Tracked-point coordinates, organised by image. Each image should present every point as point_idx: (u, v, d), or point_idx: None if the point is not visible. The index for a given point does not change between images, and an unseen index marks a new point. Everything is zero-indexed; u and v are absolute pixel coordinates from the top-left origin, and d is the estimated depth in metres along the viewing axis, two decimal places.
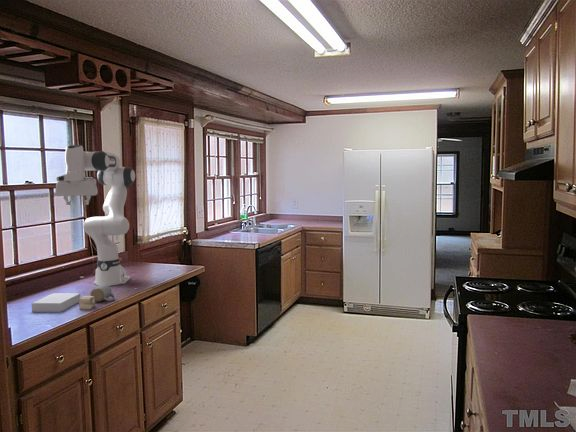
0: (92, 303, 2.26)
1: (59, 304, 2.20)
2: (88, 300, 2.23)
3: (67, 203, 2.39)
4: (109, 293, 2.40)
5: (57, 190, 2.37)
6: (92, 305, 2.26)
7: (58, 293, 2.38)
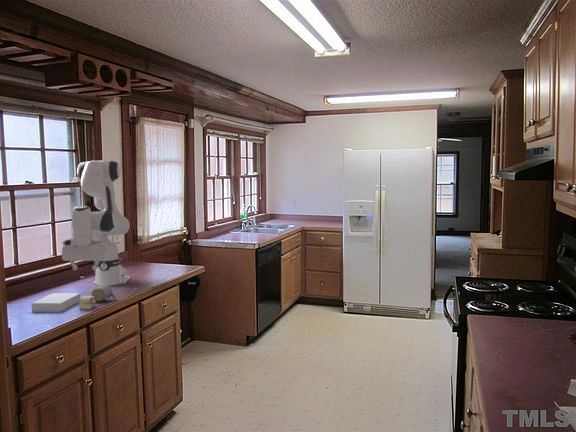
0: (92, 303, 2.26)
1: (59, 304, 2.20)
2: (88, 300, 2.23)
3: (74, 268, 2.24)
4: (110, 293, 2.40)
5: (63, 255, 2.22)
6: (92, 305, 2.26)
7: (58, 293, 2.38)
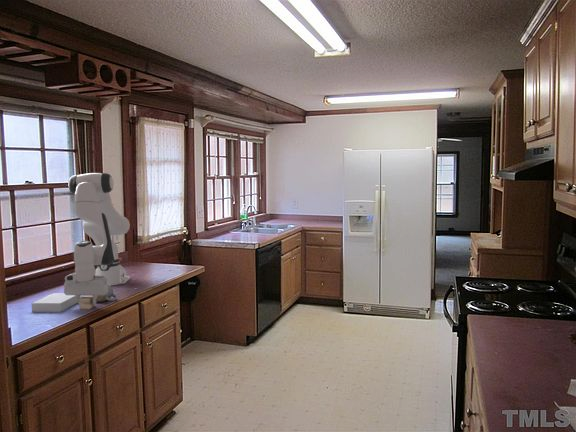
0: None
1: (59, 304, 2.20)
2: (88, 300, 2.23)
3: None
4: (111, 293, 2.40)
5: (65, 289, 2.24)
6: (92, 305, 2.26)
7: (58, 293, 2.38)
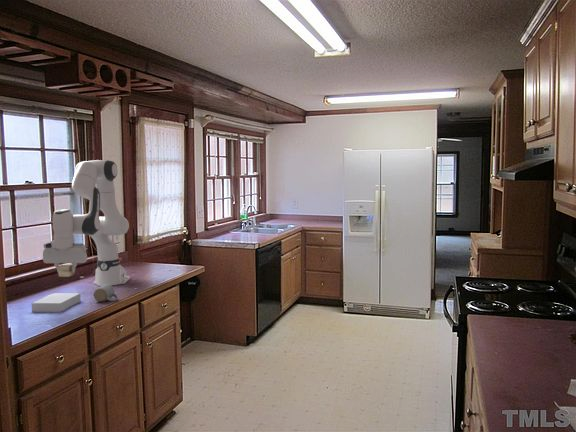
0: None
1: (59, 304, 2.20)
2: (67, 267, 2.24)
3: None
4: (112, 293, 2.40)
5: (44, 257, 2.24)
6: (71, 273, 2.27)
7: (58, 293, 2.38)
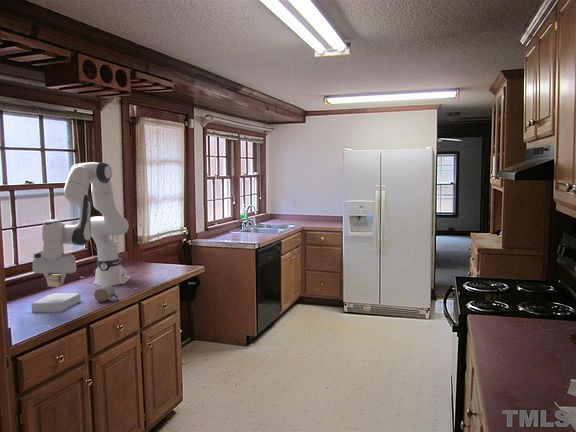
0: None
1: (59, 304, 2.20)
2: (56, 277, 2.25)
3: None
4: (113, 293, 2.40)
5: (34, 267, 2.26)
6: (60, 283, 2.28)
7: (58, 293, 2.38)
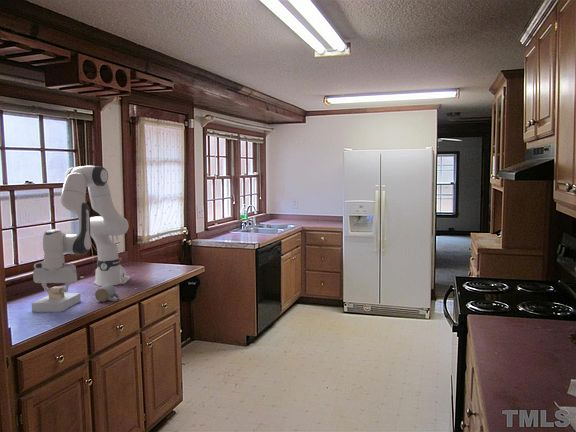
0: (61, 293, 2.29)
1: (59, 304, 2.20)
2: (57, 290, 2.26)
3: (45, 290, 2.28)
4: (113, 293, 2.40)
5: (35, 277, 2.27)
6: (61, 295, 2.29)
7: None
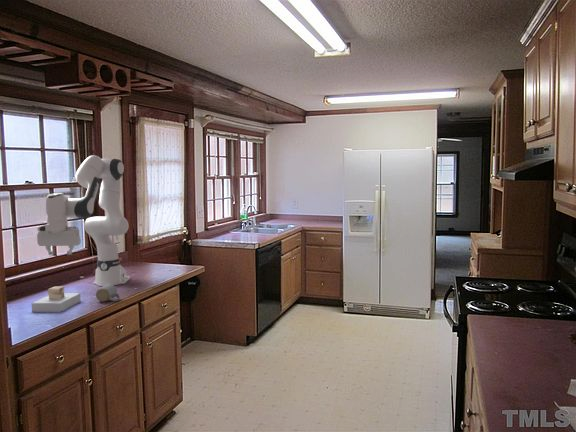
0: (61, 293, 2.29)
1: (59, 304, 2.20)
2: (57, 290, 2.26)
3: (49, 253, 2.32)
4: (114, 293, 2.40)
5: (39, 240, 2.30)
6: (61, 295, 2.29)
7: None
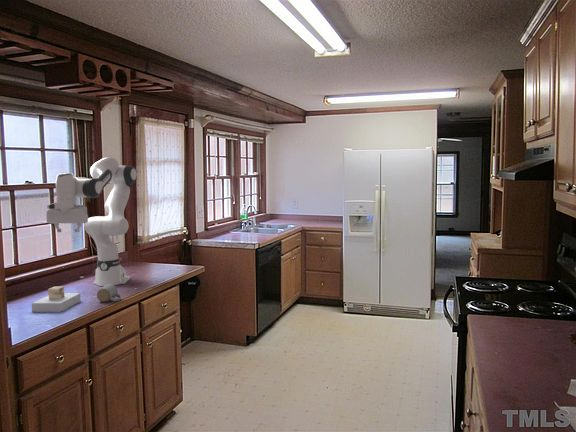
0: (61, 293, 2.29)
1: (59, 304, 2.20)
2: (57, 290, 2.26)
3: (58, 231, 2.39)
4: (115, 293, 2.39)
5: (48, 218, 2.38)
6: (61, 295, 2.29)
7: None
